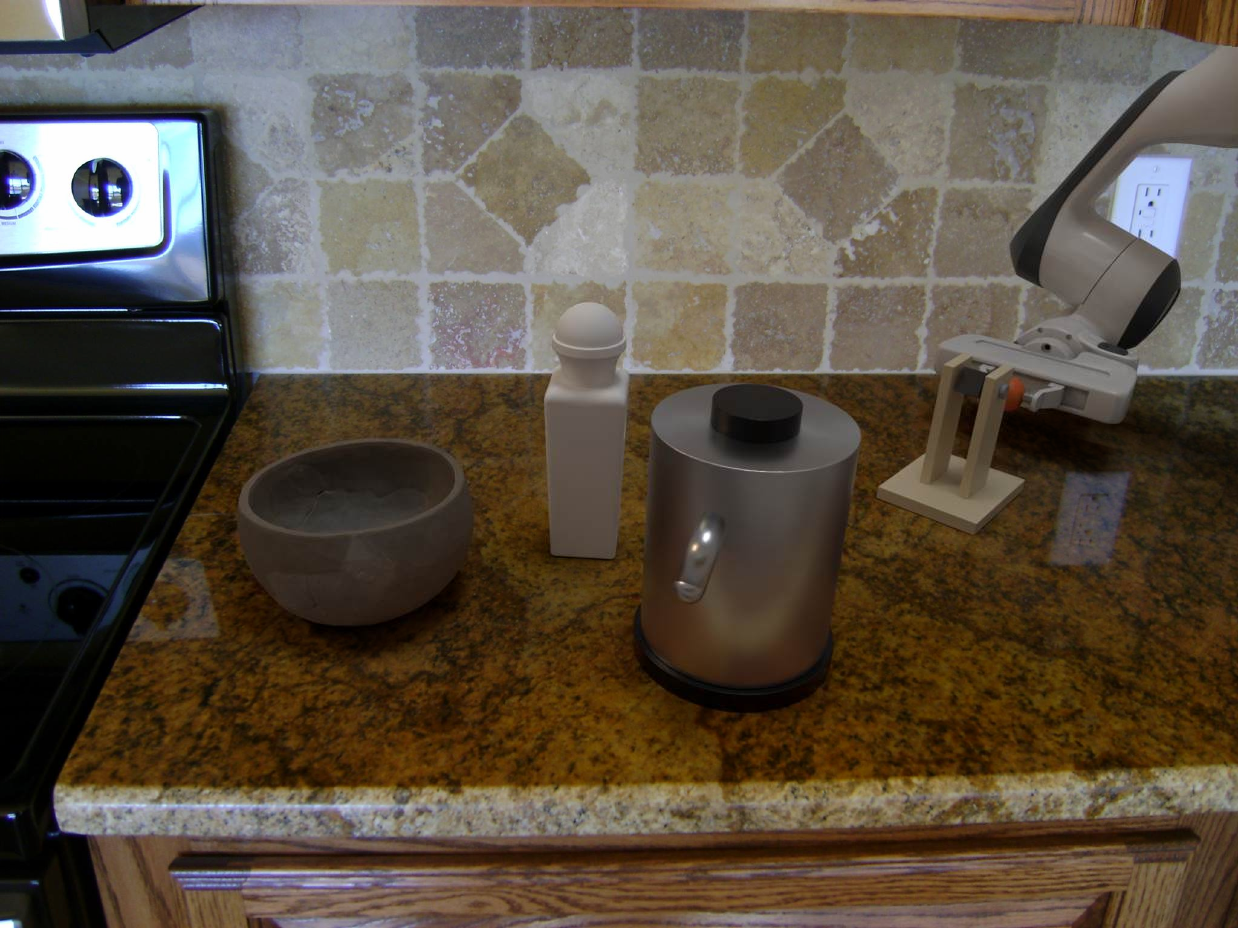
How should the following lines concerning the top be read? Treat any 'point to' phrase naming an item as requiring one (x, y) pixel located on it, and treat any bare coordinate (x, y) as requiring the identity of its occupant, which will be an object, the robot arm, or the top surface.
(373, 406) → the top surface
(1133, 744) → the top surface
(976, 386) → the lever
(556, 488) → the white square bottle
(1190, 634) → the top surface
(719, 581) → the kettle
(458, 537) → the bowl
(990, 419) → the stand
